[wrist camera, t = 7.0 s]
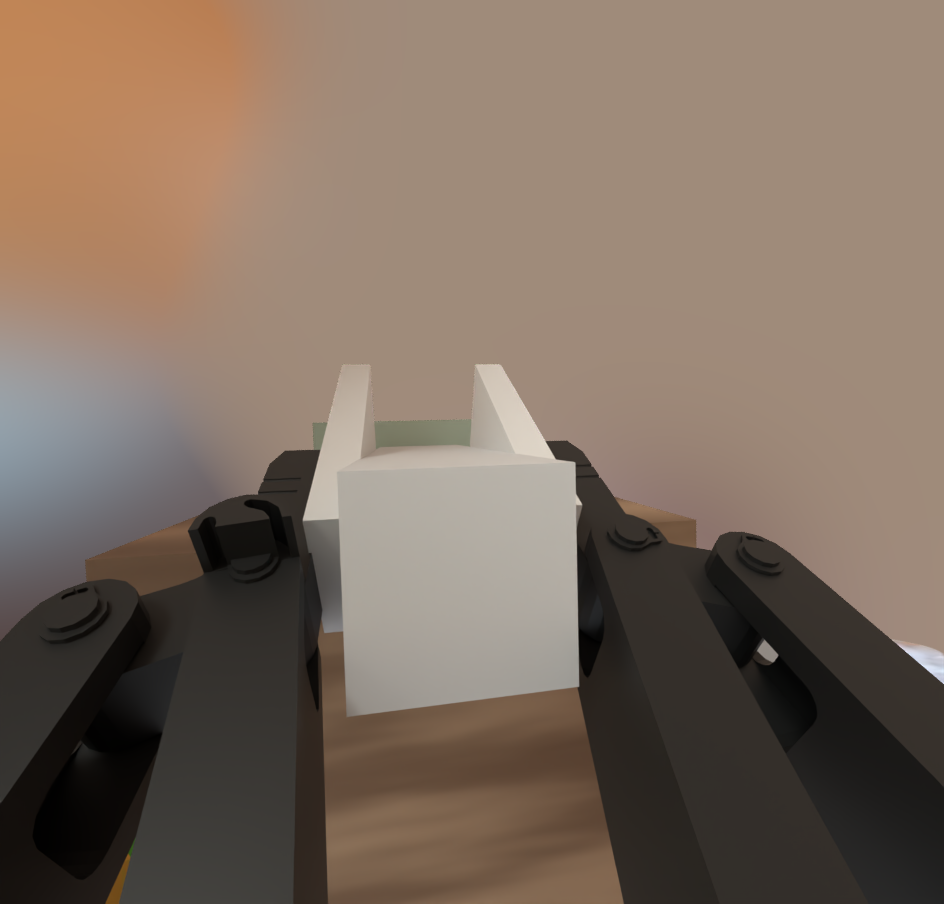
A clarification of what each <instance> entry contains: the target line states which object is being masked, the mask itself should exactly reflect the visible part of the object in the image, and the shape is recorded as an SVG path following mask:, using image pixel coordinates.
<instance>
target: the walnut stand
mask: <svg viewBox="0 0 944 904" xmlns="http://www.w3.org/2000/svg"><path fill="white" fill-rule="evenodd" d="M614 498H615V499H616V500H617V502H618V503H619V505H620V506H621V508H622V509H623V510H624V512H625V513H626V514H629V515H634V516H636V517H639V518H641V519H644V520H646V521H648V522H649V523H651V524H652V525H653V526H655V527H656V528H658V529H659V530H660V531H661V533H662V534H663V535H664V536H665V538H666V539H667V541H668V542H669V543H672V544H676V545H682V546H688V547H694V548H696V520H694V519H690V518H687V517H683V516H680V515H676V514H673V513H669V512H666V511H662V510H659V509H655V508H652V507H648V506H645V505H641V504H638V503H634V502H630V501H627V500H623V499H620V498H616V497H614ZM198 516H199V515H198ZM198 516H196V517H198ZM196 517H193V518H191V519H188V520H186V521H183V522H181V523H178V524H176V525H173V526H171V527H168V528H166V529H163V530H161V531H158V532H155V533H153V534H151V535H148V536H145V537H143V538H140V539H138V540H135V541H133V542H130V543H127V544H125V545H122V546H120V547H118V548H115V549H112V550H110V551H107V552H105V553H102V554H100V555H97V556H95V557H92V558H89V559H87V560H85V563H86V579H87V582H88V581H96V580H103V579H115V580H122V581H126V582H128V583H129V584H130V585H132V586H133V587H134V588H135V589H136V590H137V592H138V594H139V596H142V595H146V594H149V593H152V592H156V591H159V590H162V589H166V588H169V587H173V586H176V585H179V584H182V583H185V582H188V581H190V580H193V579H196V578H198V577H200V576H202V575H203V574H204V572H203V570H202V567H201V564H200V562H199V559H198V557H197V554H196V551H195V549H194V546H193V544H192V541H191V538H190V536H189V533H188V529H189V528H190V526H191V525H192V523H193V521H194V520H195V518H196ZM318 645H319V650H320V655H321V672H322V707H323V743H324V778H325V813H326V849H327V884H328V904H624V902H623V897H622V893H621V888H620V883H619V879H618V874H617V869H616V865H615V860H614V855H613V851H612V846H611V841H610V837H609V832H608V828H607V823H606V818H605V814H604V809H603V804H602V800H601V795H600V790H599V786H598V781H597V776H596V772H595V767H594V762H593V758H592V753H591V748H590V744H589V739H588V734H587V730H586V725H585V720H584V716H583V711H582V706H581V702H580V697H579V692H578V688H577V687H574V688H566V689H558V690H551V691H543V692H535V693H527V694H520V695H512V696H504V697H497V698H489V699H481V700H474V701H466V702H458V703H450V704H443V705H435V706H427V707H420V708H412V709H404V710H397V711H389V712H381V713H373V714H366V715H358V716H350V717H347V712H346V687H345V662H344V637H343V631H341V632H331V633H324V629H323V624H322V619H321V623H320V630H319V636H318Z"/></svg>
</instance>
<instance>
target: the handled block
mask: <svg viewBox="0 0 944 904" xmlns="http://www.w3.org/2000/svg"><path fill="white" fill-rule="evenodd" d="M374 425H375V440H376V450H375V451H373V452H371V453H370V454H368V455H366V456H365V457H363V458H361V459H358V460H357V461H355V462H353V463H351V464H350V465H348V466H346V467H344V468H343V469H341V470H339V471H337V486H338V511H339V536H340V561H341V586H342V612H343V637H344V662H345V687H346V712H347V717H350V716H358V715H366V714H373V713H381V712H389V711H397V710H404V709H412V708H420V707H427V706H435V705H443V704H450V703H458V702H466V701H474V700H481V699H489V698H497V697H504V696H512V695H520V694H527V693H535V692H543V691H551V690H558V689H566V688H574V687H579V648H578V590H577V531H576V472H575V462H570V461H563V460H556V459H549V458H543V457H536V456H529V455H522V454H515V453H508V452H501V451H495V450H488V449H481V448H475V447H471V446H470V435H471V420H430V421H429V420H427V421H426V420H425V421H380V422H379V421H378V422H374ZM326 427H327V423H313V441H314V450H321V447H322V443H323V439H324V435H325V431H326Z"/></svg>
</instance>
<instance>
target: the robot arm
mask: <svg viewBox="0 0 944 904" xmlns="http://www.w3.org/2000/svg"><path fill="white" fill-rule="evenodd" d="M470 446H471V447H475V448H481V449H488V450H495V451H501V452H508V453H515V454H522V455H529V456H536V457H543V458H549V459H556V460H563V461H570V462H575V472H576V531H577V590H578V648H579V687H577V688H578V692H579V697H580V702H581V706H582V711H583V716H584V720H585V725H586V730H587V734H588V739H589V744H590V748H591V753H592V758H593V762H594V767H595V772H596V776H597V781H598V786H599V790H600V795H601V800H602V804H603V809H604V814H605V818H606V823H607V828H608V832H609V837H610V841H611V846H612V851H613V855H614V860H615V865H616V869H617V874H618V879H619V883H620V888H621V893H622V897H623V902H624V904H944V684H943V683H942V682H940V681H939V680H938V679H937V678H936V677H935V676H933V675H932V674H931V673H930V672H929V671H927V670H926V669H925V668H924V667H923V666H922V665H920V664H919V663H918V662H917V661H916V660H915V659H913V658H912V657H911V656H910V655H909V654H907V653H906V652H905V651H904V650H903V649H902V648H900V647H899V646H898V645H897V644H896V643H895V642H893V641H892V640H891V639H890V638H889V637H888V636H886V635H885V634H884V633H883V632H882V631H880V630H879V629H878V628H877V627H876V626H874V625H873V624H872V623H871V622H870V621H869V620H868V619H866V618H865V617H864V616H863V615H862V614H860V613H859V612H858V611H857V610H856V609H855V608H853V607H852V606H851V605H850V604H849V603H848V602H846V601H845V600H844V599H843V598H841V596H839V595H838V594H837V593H836V592H835V591H833V590H832V589H831V588H830V587H829V586H828V585H826V584H825V583H824V582H823V581H822V580H820V579H819V578H818V577H817V576H816V575H815V574H813V573H812V572H811V571H810V570H809V569H807V568H806V567H805V566H804V565H803V564H802V563H801V562H799V561H798V560H797V559H796V558H795V557H794V556H792V555H791V554H790V553H788V552H787V551H785V550H784V549H783V548H781V547H780V546H778V545H777V544H776V543H773V542H771V541H769V540H767V539H765V538H763V537H760V536H757V535H753V534H749V533H745V532H728V533H725V534H723V535H720V536H719V538H718V540H717V541H716V543H715V545H714V547H713V549H712V551H711V550H705V549H699V548H694V547H688V546H682V545H676V544H672V543H669V542H668V541H667V539H666V538H665V536H664V535H663V534H662V533H661V531H660V530H659V529H658V528H656V527H655V526H653V525H652V524H651V523H649V522H648V521H646V520H644V519H641V518H639V517H636V516H634V515H629V514H626V513H625V512H624V510H623V509H622V508H621V506H620V505H619V503H618V502H617V500H616V499H615V498H614V496H613V495H612V493H611V492H610V490H609V489H608V487H607V486H606V485H605V483H604V482H603V480H602V479H601V478H599V475H598V473H597V472H596V470H595V469H594V467H591V463H590V462H589V460H588V459H587V457H586V456H585V454H584V453H583V452H582V451H581V450H579V449H578V448H577V447H575V446H574V445H572V444H571V443H569V442H568V441H545V440H544V438H543V437H542V435H541V433H540V431H539V430H538V428H537V426H536V425H535V423H534V421H533V419H532V418H531V416H530V414H529V413H528V411H527V409H526V407H525V406H524V404H523V402H522V401H521V399H520V397H519V396H518V394H517V392H516V390H515V389H514V387H513V385H512V383H511V382H510V380H509V379H508V377H507V375H506V373H505V372H504V370H503V368H502V366H501V365H500V364H499V365H498V364H496V365H495V364H483V365H482V364H475V375H474V390H473V405H472V420H471V435H470ZM375 450H376V440H375V425H374V410H373V395H372V381H371V366H370V364H362V365H361V364H350V365H349V364H343V365H342V369H341V372H340V376H339V380H338V384H337V389H336V392H335V396H334V400H333V404H332V408H331V411H330V415H329V420H328V423H327V427H326V431H325V435H324V439H323V443H322V447H321V450H297V451H284V452H283V453H282V454H281V455H280V456H279V457H278V458H276V459H275V460H274V461H273V462H272V463H270V465H269V467H268V469H267V472H266V474H265V477H264V482H262V484H261V486H260V489H259V491H258V495H243V496H239V497H235V498H230V499H227V500H225V501H222V502H220V503H218V504H216V505H214V506H212V507H209V508H208V509H207V510H206V511H204V512H203V513H202V514H200V515H199V516H198V517H196V518H195V520H194V521H193V523H192V525H191V526H190V528H189V529H188V533H189V536H190V538H191V541H192V544H193V546H194V549H195V551H196V554H197V557H198V559H199V562H200V564H201V567H202V570H203V572H204V574H203V575H202V576H200V577H198V578H196V579H193V580H190V581H188V582H185V583H182V584H179V585H176V586H173V587H169V588H166V589H162V590H159V591H156V592H152V593H149V594H146V595H142V596H139V594H138V592H137V590H136V589H135V588H134V587H133V586H132V585H130V584H129V583H128V582H126V581H122V580H115V579H103V580H96V581H88V582H85V583H82V584H80V585H77V586H74V587H71V588H68V589H66V590H63V591H61V592H59V593H58V594H56V595H54V596H52V597H50V598H49V599H47V600H45V601H43V602H41V603H40V604H39V605H38V606H36V607H35V608H34V609H33V610H32V611H31V612H29V613H28V614H27V615H26V616H25V617H24V618H22V619H21V620H20V621H19V622H18V623H17V624H16V625H15V626H14V627H13V628H12V629H11V631H10V632H9V633H8V634H7V635H6V636H5V637H4V638H3V639H2V640H1V641H0V904H105V903H106V901H107V899H108V897H109V894H110V892H111V890H112V888H113V886H114V883H115V881H116V879H117V877H118V875H119V872H120V870H121V868H122V866H123V864H124V862H125V859H126V857H127V855H128V853H129V851H130V848H131V846H132V844H133V842H134V840H135V842H134V846H133V850H132V854H131V858H130V861H129V865H128V869H127V873H126V877H125V881H124V885H123V889H122V892H121V896H120V900H119V904H328V884H327V849H326V813H325V778H324V743H323V707H322V672H321V655H320V650H319V645H318V636H319V630H320V623H321V619H322V624H323V629H324V633H331V632H341V631H343V612H342V586H341V561H340V536H339V511H338V486H337V471H339V470H341V469H343V468H344V467H346V466H348V465H350V464H351V463H353V462H355V461H357V460H358V459H361V458H363V457H365V456H366V455H368V454H370V453H371V452H373V451H375ZM764 640H765V641H766V642H767V643H768V644H769V645H770V646H771V647H772V649H773V650H774V651H775V652H776V653H777V654H778V657H777V658H776V659H775V661H774V662H771V661H769V660H767V659H765V658H764V657H763V656H762V655H761V654H760V653H759V652H758V651H757V650H758V649H759V647H760V646H761V644H762V643H763V641H764Z"/></svg>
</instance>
